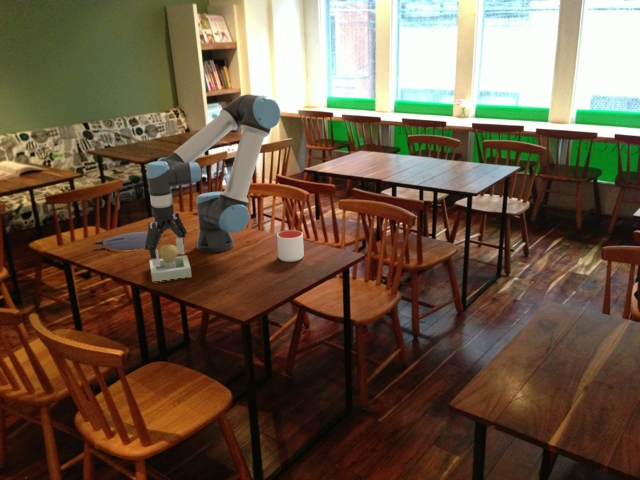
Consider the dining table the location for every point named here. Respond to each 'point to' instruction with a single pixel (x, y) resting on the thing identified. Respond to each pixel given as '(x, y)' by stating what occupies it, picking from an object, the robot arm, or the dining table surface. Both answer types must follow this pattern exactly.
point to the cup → (290, 245)
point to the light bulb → (169, 255)
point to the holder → (178, 272)
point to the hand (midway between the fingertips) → (169, 259)
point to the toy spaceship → (126, 241)
